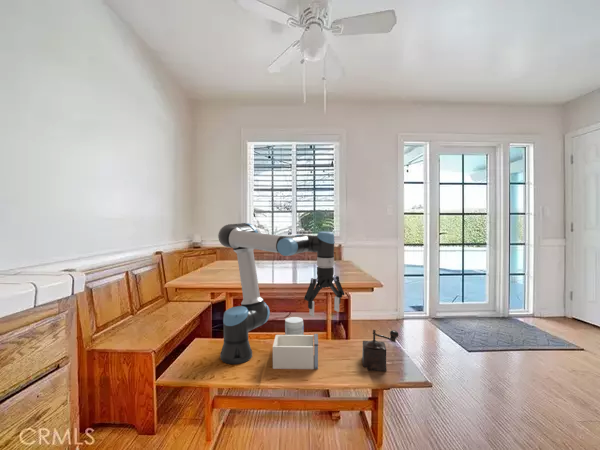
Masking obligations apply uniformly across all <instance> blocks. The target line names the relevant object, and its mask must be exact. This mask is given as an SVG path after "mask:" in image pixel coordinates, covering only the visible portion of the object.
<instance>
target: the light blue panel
mask: <svg viewBox="0 0 600 450" xmlns="http://www.w3.org/2000/svg"><path fill="white" fill-rule="evenodd" d="M313 346H314V370H319V334H318V333H313Z"/></svg>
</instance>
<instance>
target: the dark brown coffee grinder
mask: <svg viewBox="0 0 600 450" xmlns="http://www.w3.org/2000/svg"><path fill="white" fill-rule="evenodd" d="M376 332H377V330H376V329H372V335H373V337H372V340H362V350H361V351H362V366H363V368H367V370H368V371H374V372H377V371H379V372H386V371H387V370H388V369H387V348H386V347H387V346H386V344H385V342H384V341H378V340H376V337H380V338H383V339H387V340H389V341H390V342H391V343H396V341H397V338H398V337H399V332H398V331H396V330H390V332H389V335H390V337H389V336H385V335H382V334H377V333H376Z"/></svg>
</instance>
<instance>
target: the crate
mask: <svg viewBox="0 0 600 450" xmlns="http://www.w3.org/2000/svg"><path fill="white" fill-rule="evenodd" d="M272 369H274V370H277V369H279V370H280V369H281V370H315V364H314V334H304V335H285V334H275V336H274V340H273V344H272Z"/></svg>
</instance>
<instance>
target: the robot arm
mask: <svg viewBox="0 0 600 450" xmlns="http://www.w3.org/2000/svg"><path fill="white" fill-rule="evenodd" d="M217 238H218V240H219V243H220V245H221V246H223V247H226V248H230V249H231V248H232V250H233V252H234V253H236V258H237V263H238V271H239V278H240V283H241V285H240V286H241V291H242V301H241V303H240V304H241V305H238V306H232V307H230V308H228V309H226V310H225V311H224V312H223V319H222V322H223V345H222V348H221V351H220V355H219V356H220V358H221V359H220V361H221V360H222V361H223V362H222V361H221V362H222V363H224V362H225V363H224V364H229V365H238V364H242V363H246V362H248V361H250V360H251V359H252V357H253V349H252V348H251V344H250V341H249V332H251V331H252V330H255V329H257V328H259V327H261V326H263V325H264V324H265V323H267V322H268V320H269V319H270V314H271V313H270V307H269V305H267V303H266V302H264V298H262V296H261V295H260V294H261V293H260V288H259V281H258V274H257V267H256V259H255V254H254V253H255V252H254V250H260V251H264V252H271V253H276V254H277V253H278V254H280V255H282V256H283V257H289V256H294V255H297V254H298V255H299V254H302V253H306V252H307V253H316V266H317V267H316V278H313V277H312V278H310V283H309V286H308V289H307V291H306V293H305V295H304V298H303V299H304V300H305V301H307V308H308V310H309V316H311V317H312V318H314V317H315V301H314V300H315V298H316V296H317V295H318V294H319V292H320V291H321V290H323V289H326V288H330V289H331V291H332V293H334V295H335V296H334V305H333V307H334V308H333V309H334V311H335V312H337V313H339V312H340V304H341V300H342V299H341V298H343V296H344V295H345V292H344V290H343V287H342V284H341V282H340V276H338V275H334V272H335V269H334V265H335V244H336V243H335V234H334V232H332V231H319V232H317V235H311V234H310V235H309V234H296V235H295V236H284V235H278V234H277V235H276V234H271V233H270V234H269V233H262V232H261V233H260V232H258V229H257V228H256V226H254V225H253V223H246V222H242V223H229V224H226V225H223V226H222V227H221V228H220V229H219V232H218V234H217ZM333 282H334V283H333Z"/></svg>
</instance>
